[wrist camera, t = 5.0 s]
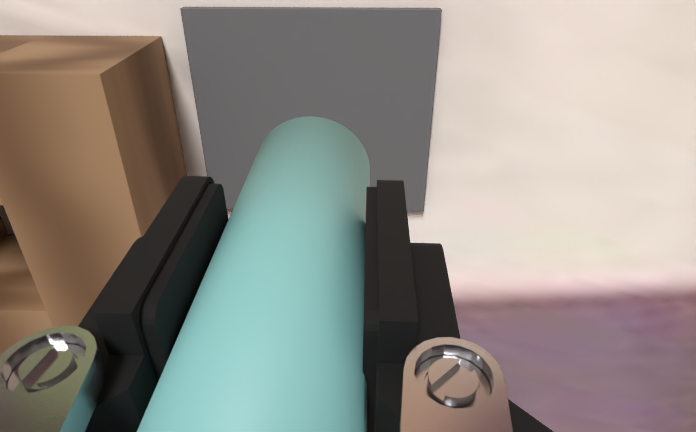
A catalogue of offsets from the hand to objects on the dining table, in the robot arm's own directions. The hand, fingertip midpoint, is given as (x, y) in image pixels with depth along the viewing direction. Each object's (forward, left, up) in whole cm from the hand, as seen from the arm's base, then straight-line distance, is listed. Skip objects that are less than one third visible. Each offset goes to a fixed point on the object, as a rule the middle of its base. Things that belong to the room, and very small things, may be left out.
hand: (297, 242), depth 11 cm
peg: (0, 0, -3) cm, 3 cm away
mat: (0, +1, -10) cm, 10 cm away
